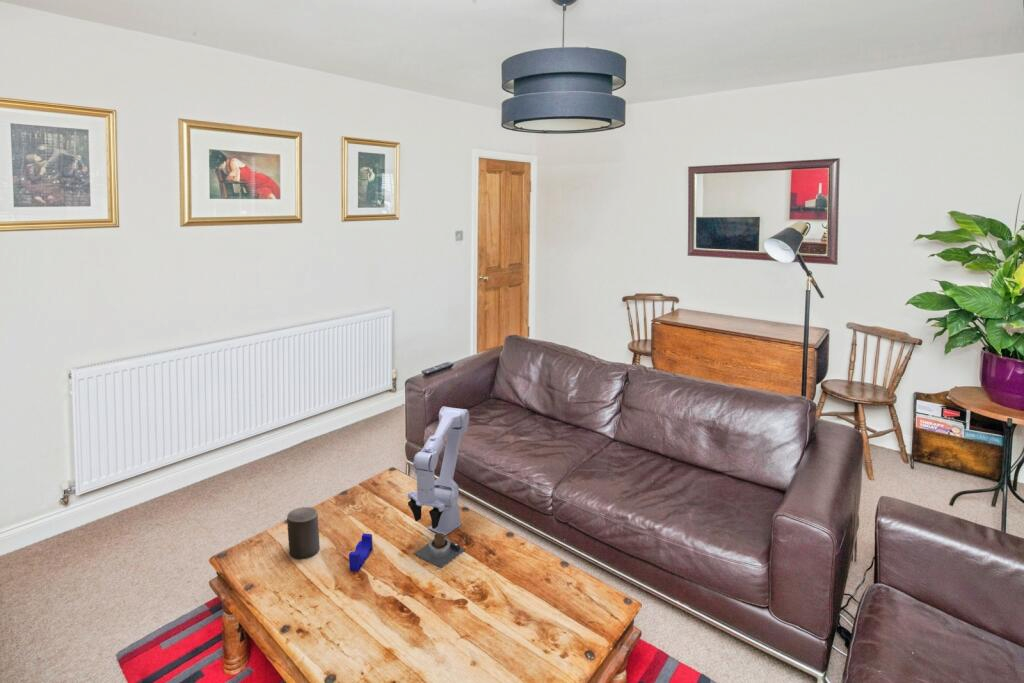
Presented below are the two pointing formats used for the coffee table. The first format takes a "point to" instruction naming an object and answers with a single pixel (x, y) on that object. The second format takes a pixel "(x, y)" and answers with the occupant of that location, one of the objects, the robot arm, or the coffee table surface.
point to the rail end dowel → (439, 540)
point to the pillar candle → (303, 532)
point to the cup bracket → (439, 553)
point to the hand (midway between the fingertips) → (426, 523)
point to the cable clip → (361, 552)
